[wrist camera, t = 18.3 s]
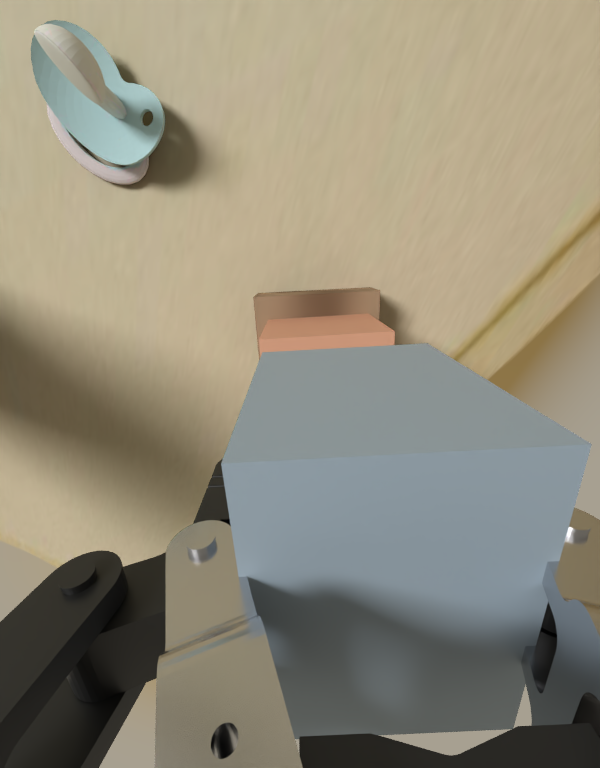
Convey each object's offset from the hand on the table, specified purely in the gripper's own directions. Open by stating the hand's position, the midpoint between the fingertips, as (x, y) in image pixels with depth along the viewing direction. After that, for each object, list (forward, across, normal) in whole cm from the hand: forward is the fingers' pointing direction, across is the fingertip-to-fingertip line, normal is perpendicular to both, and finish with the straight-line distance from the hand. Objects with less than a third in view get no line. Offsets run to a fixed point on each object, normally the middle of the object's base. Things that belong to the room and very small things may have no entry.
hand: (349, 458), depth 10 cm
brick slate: (+1, 0, 0) cm, 1 cm away
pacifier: (+16, +12, -14) cm, 25 cm away
